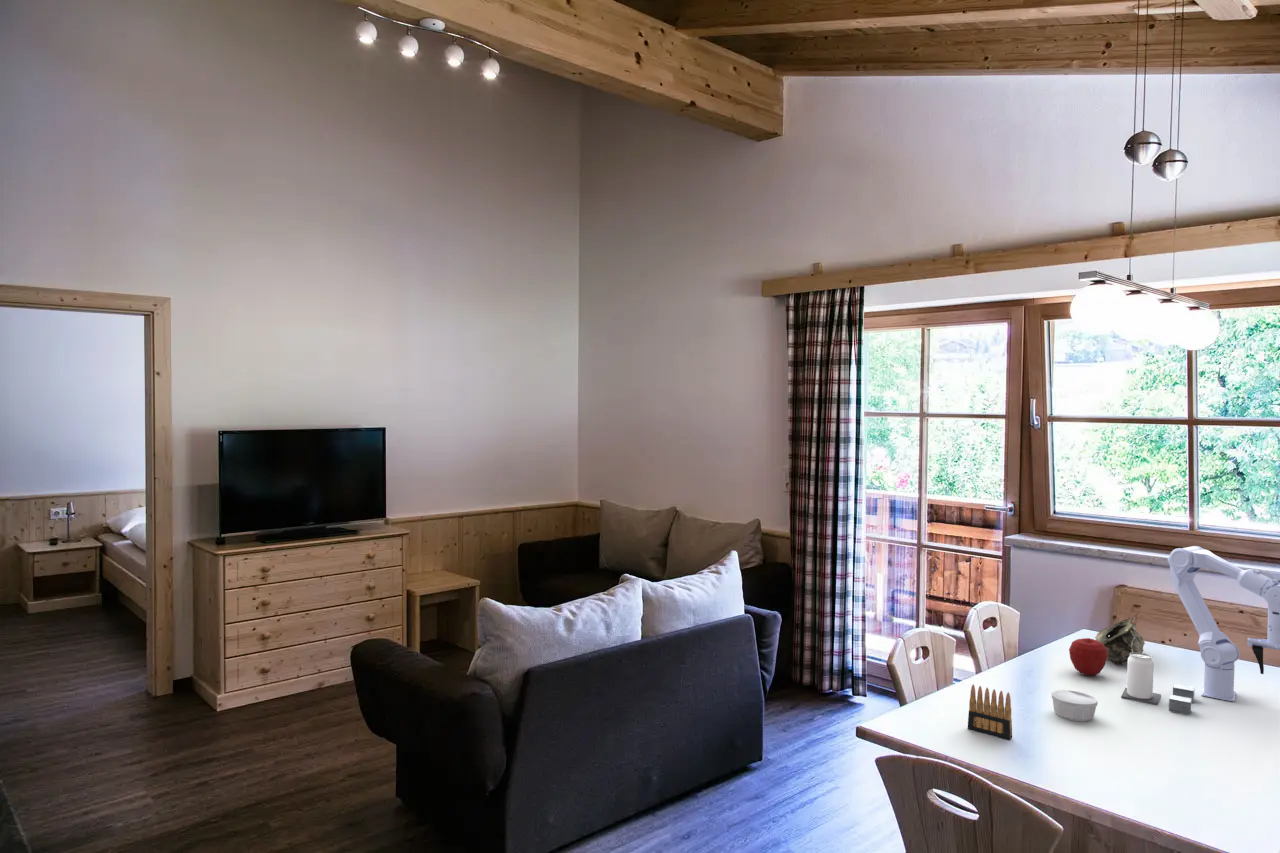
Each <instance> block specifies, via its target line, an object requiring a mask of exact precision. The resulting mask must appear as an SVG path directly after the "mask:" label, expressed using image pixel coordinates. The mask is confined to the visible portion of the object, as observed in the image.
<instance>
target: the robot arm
mask: <svg viewBox="0 0 1280 853" xmlns="http://www.w3.org/2000/svg"><path fill="white" fill-rule="evenodd" d="M1167 562H1168V565H1169V571H1170V572H1169V575H1170V577H1169V578H1170V581H1171V584H1172V585H1173V587H1174V589H1175V591H1176V593H1177V595H1178V597H1179V599H1180V601H1181V603H1182V604H1183V606H1184V608H1185V610H1186V612H1187V615H1188V616H1189V618H1190V620H1191V622H1192V623H1193V625H1194V627H1195V629H1196V632H1197V633H1198V635H1199V638H1198V642H1197V645H1198V647H1199V650H1200V657H1201V660H1202V661H1203V662H1204V675H1203V676H1204V677H1203V686H1202V690H1201V696H1203V697H1208V698H1211V699H1212V698H1213V699H1217V700H1222V701H1227V702H1228V701H1229V702H1235V701H1236V694H1237V692H1236V691H1235V690H1234V689H1235V662H1236V661H1238V659H1239V658H1240V649H1239V648H1238V646H1237V645H1236V644H1235V643H1233V641H1231V639H1230V638H1229V635H1227V634H1225V633H1224V632H1223V631H1221V630H1220V628H1219V626H1218V624H1217V622H1216V621H1215V619H1214V617H1213V615H1212V613H1211V611H1210V609H1209V608H1208V606H1207V604H1206V601H1205V600H1204V598H1203V596H1202V594H1201V593H1200V591H1199V589H1198V587H1197V585H1196V584H1195V582H1194V579H1195V576H1196V575H1197V573H1198V572H1199V570H1201V569H1202V568H1209V569H1212V570H1214V571H1217V572H1219V573H1221V574H1222V575H1226V576H1228V577H1230V578H1232V579H1235V581H1236V580H1237V582H1238V584H1239V587H1241V588H1243V589H1245V590H1248V591H1249V592H1252V594H1255V595H1257V596H1258V597H1259V596H1260V597H1261V598H1264V600H1265V602H1266V603H1267V631H1266V633H1267V634H1266V635H1267V636H1266V637H1267V638H1266V639H1265V638H1251V637H1247V647H1252V652H1253V654H1254V656H1255V659H1256V660H1257V662H1258V666H1259V672H1260V674H1261V675H1264V674H1265V671H1264V670H1265V668H1264V667H1265V666H1264V649H1271V650H1277V651H1280V582H1279V580H1278V579H1276V578H1273V579H1272V578H1271V577H1269V576H1266V575H1265V574H1262V573H1261V572H1262V571H1261V570H1259V569H1252V568H1250V569H1249V568H1248V569H1245V570H1244V569H1242V568H1240V567H1239V566H1237V565H1235V564H1233V563H1231V562H1229V561H1228V560H1225V559H1224V558H1222V557H1221V556H1218V555H1216V554H1214V553H1213V552H1212V551H1211V550H1209V549H1204V548H1202V547H1201V546H1198V545H1193V546H1188V547H1182V548H1181V547H1178V548H1175V549H1172V551H1171V552H1170V554H1169V556H1168V558H1167Z"/></svg>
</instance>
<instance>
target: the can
mask: <svg viewBox="0 0 1280 853" xmlns="http://www.w3.org/2000/svg"><path fill="white" fill-rule="evenodd" d="M1126 669H1127V670H1126V672H1127V673H1126V675H1127V676H1126V688H1127V694H1128V695H1129V696H1131V697H1134V698H1137V699H1151V698H1152V696H1153V693H1154V691H1153V690H1154V660H1153V656H1152V655H1150V654H1147V653H1143V652H1142V653H1138V652H1132V653H1130V656H1129V657H1128V662H1127V668H1126Z"/></svg>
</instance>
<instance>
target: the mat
mask: <svg viewBox="0 0 1280 853" xmlns="http://www.w3.org/2000/svg"><path fill="white" fill-rule="evenodd" d="M1161 695H1162V694H1161V693H1155V692H1153V696H1152V698H1151V699H1137V698H1134V697H1131V696H1129V695H1128V694H1127V687H1125V688H1124V690H1123V691H1122V694H1121V696H1120V697H1121V699H1125V700H1130V701H1136V702H1139V703H1140V702H1141V703H1144V704H1150V705H1155V706H1158V705H1159V703H1160V700H1161Z"/></svg>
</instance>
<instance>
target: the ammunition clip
mask: <svg viewBox="0 0 1280 853" xmlns="http://www.w3.org/2000/svg"><path fill="white" fill-rule="evenodd" d="M977 689H978V690H977V697H976V688H975V685H974V684H972V685H971V689H970V696H969V697H970V698H969V705H968V706H969V708H968V716H967V730H968V731H972V732H976V733H980V734H983V735H987V736H990V737H996V738H999V739H1002V740H1007V741H1011V740H1012V739H1013V726H1012V725H1013V724H1012V723H1013V722H1012V720H1013V719H1012V704H1011V703H1012V702H1011V694H1010V692H1007V693H1006V696H1005V700H1004V693H1003V691H1002V690H1000V692H999V695H998V701H997V691H996V689H995V688H993V690H992V692H991V699H990V689H989V688H988V687H986V688H985V690H984V699H983V688H982V686H981V685H979V687H978V688H977ZM1004 701H1005V703H1004ZM997 702H998V703H997Z"/></svg>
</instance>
